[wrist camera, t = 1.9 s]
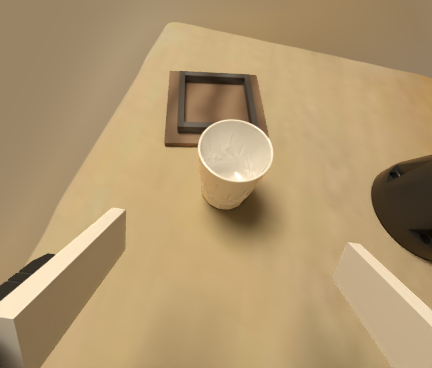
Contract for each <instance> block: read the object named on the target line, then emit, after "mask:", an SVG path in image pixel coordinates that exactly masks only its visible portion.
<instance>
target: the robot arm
mask: <svg viewBox="0 0 432 368" xmlns="http://www.w3.org/2000/svg"><path fill="white" fill-rule="evenodd" d="M372 201H373V205H374V209H375V211H376V213H377V216H378V217H379V219H380V221H381V223H382V224H383V226H384V227H385V228H386V230H387V231H388V232H389V233H390V234H391V235H392V237H393V238H394V239H395V240H396V241H398V242H399V243H400V244H401V245H402V246H404V247H405V248H406V249H408V250H409V251H411V252H412V253H414V254H416V255H418V256H420V257H422V258H424V259H427V260H430V261H432V155H428V156H424V157H420V158H416V159H412V160H408V161H404V162H400V163H397V164H395V165H393V166H391V167H390V168H388V169H386V170H384V171H383V172H381V173H380V174H379V175H378V176H377V177H376V179H375V180H374V183H373V186H372ZM125 231H126V209H119V208H111V209H110V210H109V211H108V212H106V213H105V214H104V215H103V216H102V217H101V218H99V219H98V220H97V221H96V222H95V223H93V224H92V225H91V226H90V227H89V228H87V229H86V230H85V231H84V232H83V233H81V234H80V235H79V236H78V237H77V238H75V239H74V240H73V241H72V242H71V243H69V244H68V245H67V246H66V247H65V248H63V249H62V250H61V251H60V252H59V253H58V254H56V255H55V254H46V255H44V256H42V257H40V258H38V259H35V260H33V261H32V262H30V263H29V264H28V265H26V266H25V267H24V268H23V269H21V270H20V271H19V273H16V274H15V275H13V276H12V277H11V278H9V279H8V281H7V282H4V283H3V284H2V285H0V368H40V367H41V366H42V364H43V363H44V361H45V360H46V359H47V357H48V356H49V355H50V353H51V352H52V350H53V349H54V348H55V346H56V345H57V343H58V342H59V341H60V339H61V338H62V336H63V335H64V334H65V332H66V331H67V330H68V328H69V327H70V325H71V324H72V323H73V321H74V320H75V318H76V317H77V316H78V314H79V313H80V312H81V310H82V309H83V307H84V306H85V305H86V303H87V302H88V300H89V299H90V298H91V296H92V295H93V294H94V292H95V291H96V289H97V288H98V287H99V285H100V284H101V282H102V281H103V280H104V278H105V277H106V275H107V274H108V273H109V271H110V270H111V269H112V267H113V266H114V264H115V263H116V262H117V260H118V259H119V257H120V256H121V255H122V253H123V252H124V251H125ZM332 280H333V281H334V283H335V284H336V286H337V287H338V289H339V290H340V292H341V293H342V295H343V296H344V298H345V299H346V300H347V302H348V303H349V305H350V306H351V308H352V309H353V311H354V312H355V314H356V315H357V317H358V318H359V320H360V321H361V323H362V324H363V325H364V327H365V328H366V330H367V331H368V333H369V334H370V336H371V337H372V339H373V340H374V342H375V343H376V345H377V346H378V348H379V349H380V350H381V352H382V353H383V355H384V356H385V358H386V359H387V361H388V362H389V364H390V365H391V367H392V368H432V310H431V309H430V308H429V307H428V306H427V305H425V304H424V303H423V302H422V301H421V300H420V299H419V298H418V297H417V296H416V295H415V294H413V293H412V292H411V291H410V290H409V289H408V288H407V287H406V286H405V285H404V284H403V283H402V282H400V281H399V280H398V279H397V278H396V277H395V276H394V275H393V274H392V273H391V272H390V271H389V270H387V269H386V268H385V267H384V266H383V265H382V264H381V263H380V262H379V261H378V260H377V259H376V258H374V257H373V256H372V255H371V254H370V253H369V252H368V251H367V250H366V249H365V248H364V247H362V246H361V245H360V244H356V243H349V242H347V244H346V246H345V249H344V251H343V253H342V256H341V258H340V261H339V263H338V265H337V268H336V270H335V272H334V275H333V277H332Z"/></svg>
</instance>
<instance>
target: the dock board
mask: <svg viewBox="0 0 432 368" xmlns="http://www.w3.org/2000/svg"><path fill="white" fill-rule="evenodd" d="M230 119H234V120H242V121H245V122H248V123H251V124H253V125H255V126H256V127H258V128H259V129H261V130H262V131H263V132H264V133H265V134H266V136H267V137H268V138H269V136H268V131H267V126H266V121H265V116H264V111H263V106H262V101H261V96H260V91H259V86H258V81H257V77H256V75H248V74H228V73H208V72H188V71H170V77H169V90H168V103H167V116H166V129H165V142H164V143H165V146H198V143H199V139H200V137H201V135H202V133H203V132H204V131H205V130H206V129H207V128H208V127H209V126H210V125H212V124H214V123H216V122H219V121H222V120H230Z"/></svg>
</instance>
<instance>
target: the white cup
mask: <svg viewBox="0 0 432 368" xmlns="http://www.w3.org/2000/svg"><path fill="white" fill-rule="evenodd" d="M273 155H274V153H273V147H272V144H271V142H270V140H269V138H268V137H267V136H266V134H265V133H264V132H263V131H262V130H261V129H259V128H258V127H256V126H255V125H253V124H251V123H248V122H245V121H242V120H234V119H230V120H222V121H219V122H216V123H214V124H212V125H210V126H209V127H208V128H207V129H206V130H205V131H204V132H203V133H202V135H201V137H200V139H199V143H198V156H199V173H200V182H201V187H202V193H203V196H204V198H205V199H206V200H207V202H208V203H209V204H210V205H212V206H214V207H216V208H218V209H227V210H230V209H232V208H235V207H237V206H239V205H240V204H241V203H242V202H243V201H244V199H245V198H247V197H248V196H249V194H250V193H251V192H252V191H253V190H254V188H255V187H256V186H257V184H258V183H259V182H260V180H261V179H262V177H263V176H264V175H265V174H266V172H267V171H268V170H269V168H270V166H271V164H272V162H273Z"/></svg>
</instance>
